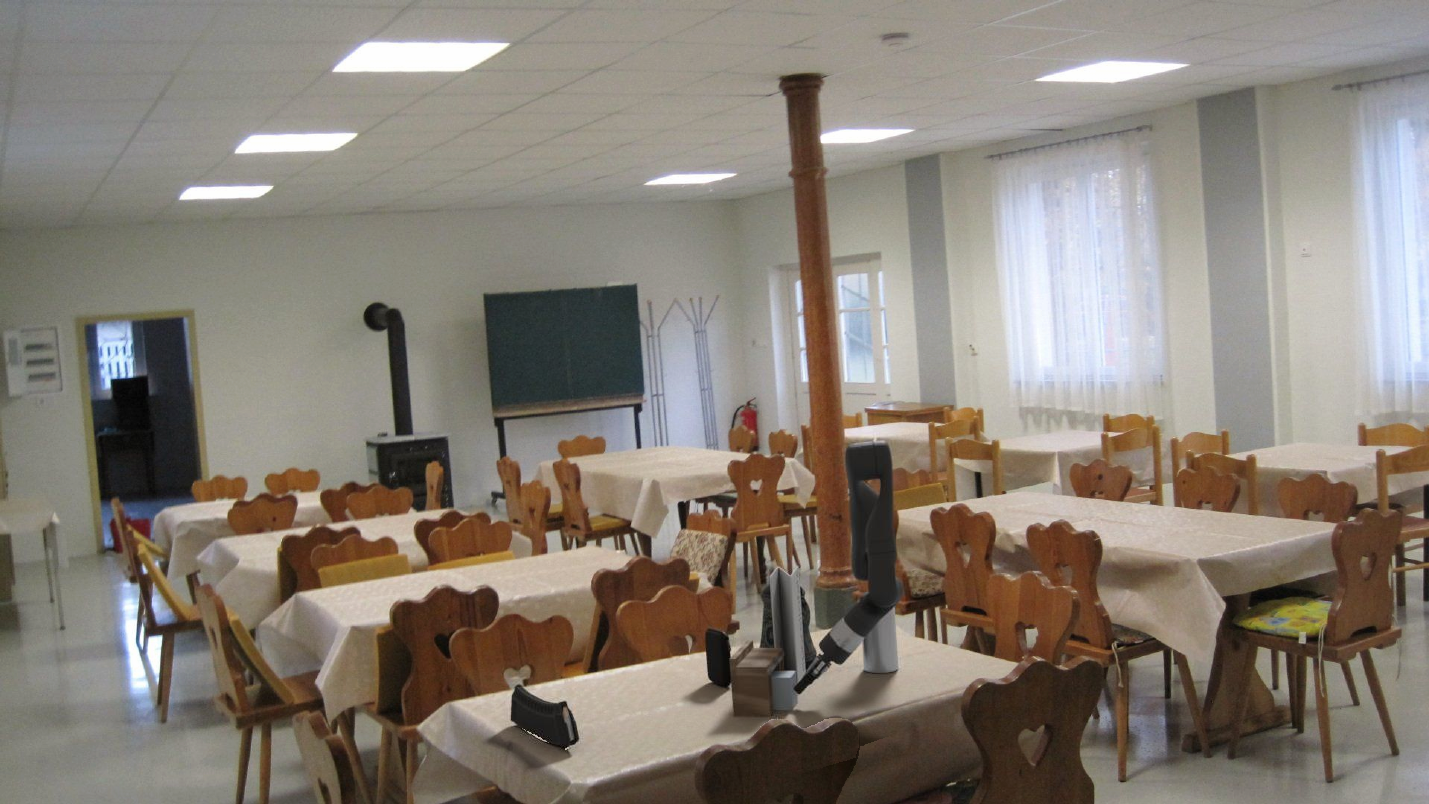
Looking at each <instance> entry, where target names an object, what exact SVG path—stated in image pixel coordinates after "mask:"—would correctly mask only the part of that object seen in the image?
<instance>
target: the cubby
mask: <svg viewBox="0 0 1429 804" xmlns="http://www.w3.org/2000/svg"><path fill="white" fill-rule="evenodd" d="M784 656H785V652H783V649H782V648H759V647H754V640H753V639H746V641H745V642H744V643H743V644H742V645H741V646H740V647H739V648H738V649H737V650H736V651H735V653H733V654H732V655H731V658H730V659H729V660H730V674H731V684H730V687H731V699H732V700H731V702H732V713H733V717H757V718H758V717H763V718H764V717H766V718H767V717H768V718H770V717H771V716H772V714H773V713H774V711H775V710H774V704H773V690H772V675H771V672H772V671H784V664H783V657H784Z"/></svg>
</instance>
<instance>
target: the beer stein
mask: <svg viewBox="0 0 1429 804" xmlns="http://www.w3.org/2000/svg"><path fill="white" fill-rule="evenodd" d="M759 595H760V600H761V601H762V603H763V608H762V611H763V612H762V622H761V623H762V625H761V637H760V643H759V647H758V648H774V635H773V620H772V606H771V591H770V583H769V584H767V586H765V587H764V588H763V589H762V590H761V592H760V594H759ZM800 596H801V611H802V625H803V640H804V655H805V669H806V671H807V669H808V668H809V666H810V665H811V664H812V663H813V661H814V660H815V658H816V657H817V656H818V653H817V649H816V647H815V645H814V642H813V638H812V636H811V632H810V624H811V608H810V605H809V603H808V602H807V600H806V598H805V597H806V591H805V589H804V588H803V587H802V586H801V585H800Z"/></svg>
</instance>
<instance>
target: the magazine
mask: <svg viewBox="0 0 1429 804" xmlns="http://www.w3.org/2000/svg"><path fill="white" fill-rule="evenodd" d="M510 700H511V701H510V702H511V703H510V722H511V723H512V722H513V723H514V724H515V725H516V726H517V727H519V729H521V728H523V729H525V730H526V731H529V732H531V733H532V734H535V735H537V736H538V737H541V738H542V739H543V740H546V741H547V742H549V743H552V744H551V745H554V744H555V745H554V746H558V745H559V747H563V749H564V748H567V747H569V748H570V747H572V746H575V745H576V744H577V743H578V742H579V740H580V735H579V731H578V725H577V721H576V719H575V717H574V714H573V712H572V710H571V709H570V708H569V705H568V702H567V701H566V700H562V701H559V702H551V701H548V700H545V699H543V698H540V697H538V696H536V695H534V694H532V693H531V692H530V691H528V690H527V689H526V688H525V687H524V686H523V685H522V684H520V683H517V684H516V685H515V686H514V690H513V692H512V693H511V699H510ZM523 729H522V730H523Z"/></svg>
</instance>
